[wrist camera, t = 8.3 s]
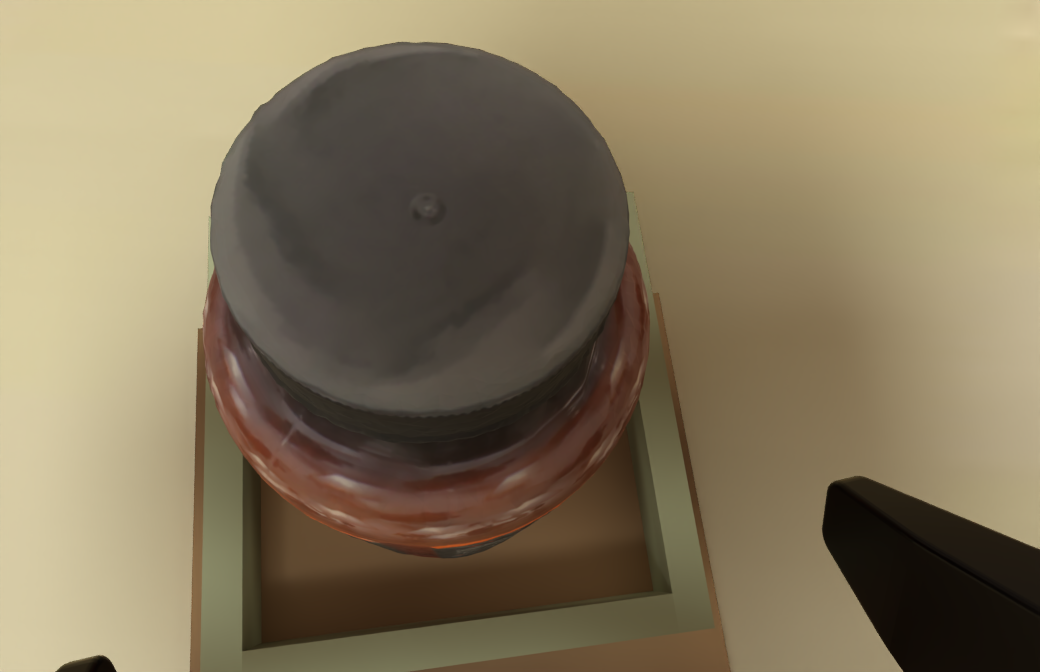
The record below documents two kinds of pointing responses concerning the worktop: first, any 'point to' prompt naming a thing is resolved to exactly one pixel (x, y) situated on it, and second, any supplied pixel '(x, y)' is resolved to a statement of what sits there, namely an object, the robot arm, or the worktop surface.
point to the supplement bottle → (423, 297)
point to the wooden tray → (464, 566)
